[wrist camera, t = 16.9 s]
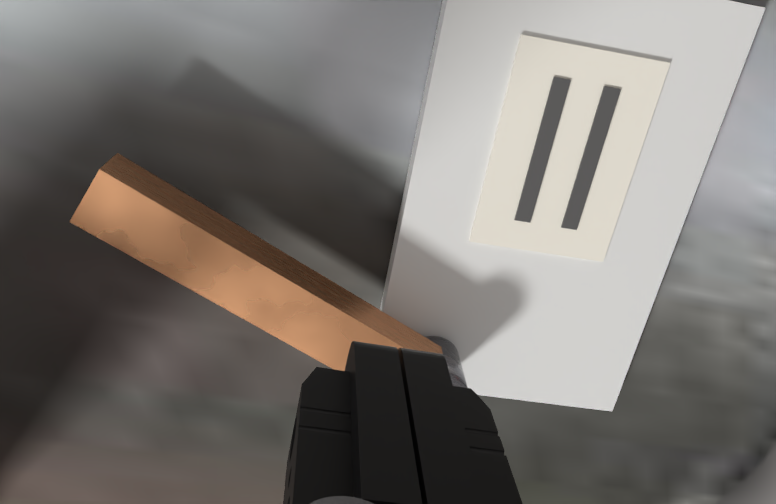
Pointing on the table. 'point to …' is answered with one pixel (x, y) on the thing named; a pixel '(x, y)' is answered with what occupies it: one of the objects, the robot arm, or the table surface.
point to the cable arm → (239, 269)
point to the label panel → (557, 182)
